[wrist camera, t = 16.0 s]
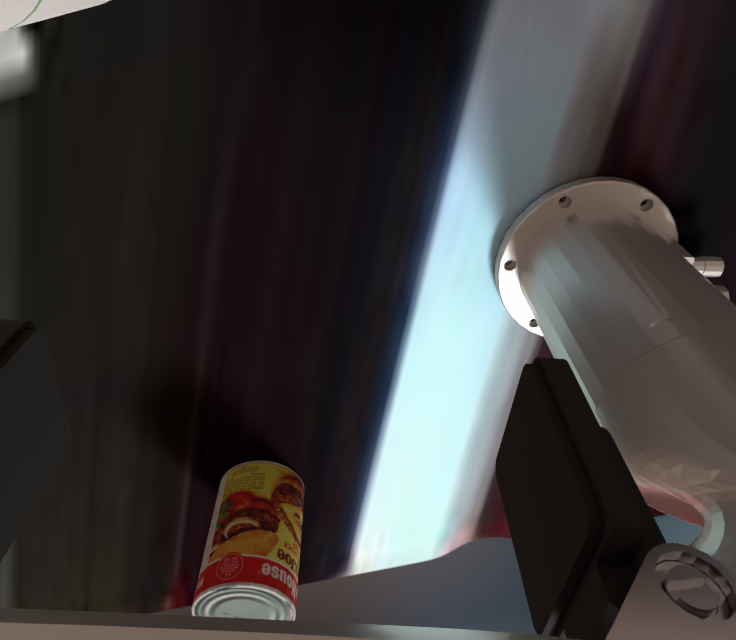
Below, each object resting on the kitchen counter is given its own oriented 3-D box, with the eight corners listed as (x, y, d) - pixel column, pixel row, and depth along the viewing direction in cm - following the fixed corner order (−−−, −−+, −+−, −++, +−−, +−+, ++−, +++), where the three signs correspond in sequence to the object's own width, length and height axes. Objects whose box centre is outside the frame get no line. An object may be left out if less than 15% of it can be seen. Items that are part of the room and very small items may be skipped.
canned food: (309, 513, 56) (301, 638, 46) (229, 518, 56) (204, 644, 46) (299, 457, 52) (288, 581, 42) (211, 463, 52) (180, 588, 42)
